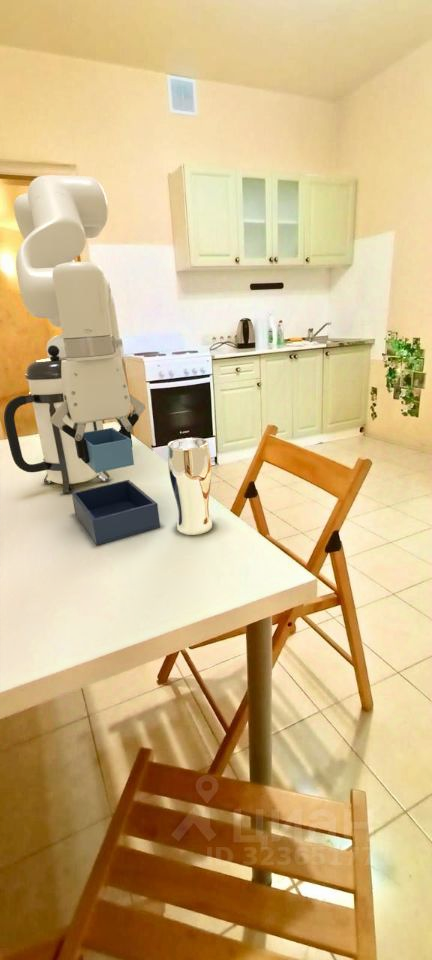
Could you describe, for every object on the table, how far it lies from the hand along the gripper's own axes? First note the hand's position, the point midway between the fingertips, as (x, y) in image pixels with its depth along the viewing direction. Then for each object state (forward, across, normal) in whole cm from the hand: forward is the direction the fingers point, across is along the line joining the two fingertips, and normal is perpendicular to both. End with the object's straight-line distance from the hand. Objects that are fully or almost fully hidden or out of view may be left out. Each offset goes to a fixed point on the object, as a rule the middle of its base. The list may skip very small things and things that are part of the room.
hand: (106, 456), depth 77 cm
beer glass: (+13, -10, +11) cm, 20 cm away
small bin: (+1, 0, 0) cm, 1 cm away
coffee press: (+12, +2, -25) cm, 28 cm away
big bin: (+12, 0, 0) cm, 12 cm away
